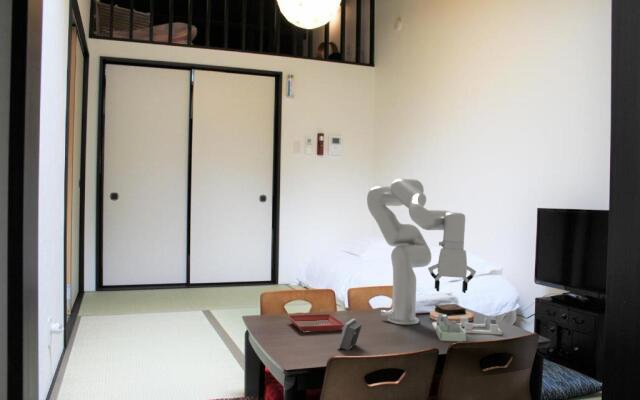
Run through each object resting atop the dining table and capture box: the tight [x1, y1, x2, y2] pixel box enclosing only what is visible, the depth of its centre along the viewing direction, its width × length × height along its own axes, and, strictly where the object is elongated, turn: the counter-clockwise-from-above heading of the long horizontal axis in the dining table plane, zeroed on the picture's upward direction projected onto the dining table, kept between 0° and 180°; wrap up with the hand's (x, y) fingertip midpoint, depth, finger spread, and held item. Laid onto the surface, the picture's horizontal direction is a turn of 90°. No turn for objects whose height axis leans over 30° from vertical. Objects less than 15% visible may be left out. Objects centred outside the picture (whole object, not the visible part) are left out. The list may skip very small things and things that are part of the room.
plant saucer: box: [287, 313, 345, 332], centre depth 208 cm, size 18×18×3 cm
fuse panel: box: [431, 315, 503, 335], centre depth 211 cm, size 25×11×4 cm, turn 85°
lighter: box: [441, 313, 459, 333], centre depth 199 cm, size 7×2×8 cm, turn 114°
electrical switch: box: [336, 318, 363, 351], centre depth 182 cm, size 9×5×9 cm, turn 158°
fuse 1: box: [437, 313, 445, 325], centre depth 212 cm, size 2×7×5 cm, turn 175°
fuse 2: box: [486, 315, 497, 331], centre depth 210 cm, size 2×7×5 cm, turn 175°
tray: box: [435, 325, 467, 342], centre depth 199 cm, size 9×11×3 cm
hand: (450, 291), depth 199 cm, fingers open, 9 cm apart
